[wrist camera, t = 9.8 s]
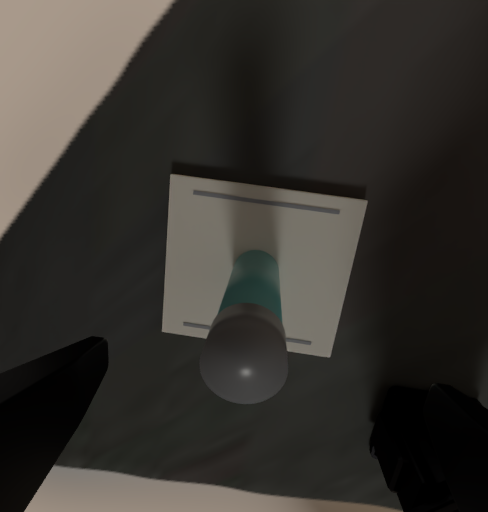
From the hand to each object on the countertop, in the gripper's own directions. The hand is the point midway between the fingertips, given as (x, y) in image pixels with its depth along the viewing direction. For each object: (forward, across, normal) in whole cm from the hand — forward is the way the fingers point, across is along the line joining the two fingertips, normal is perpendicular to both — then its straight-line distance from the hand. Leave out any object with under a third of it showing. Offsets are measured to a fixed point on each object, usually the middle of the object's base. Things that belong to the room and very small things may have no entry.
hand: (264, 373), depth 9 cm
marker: (+12, +1, +2) cm, 12 cm away
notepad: (+13, +1, +2) cm, 13 cm away
